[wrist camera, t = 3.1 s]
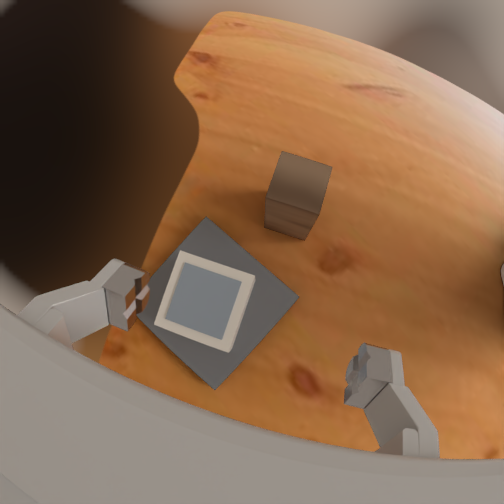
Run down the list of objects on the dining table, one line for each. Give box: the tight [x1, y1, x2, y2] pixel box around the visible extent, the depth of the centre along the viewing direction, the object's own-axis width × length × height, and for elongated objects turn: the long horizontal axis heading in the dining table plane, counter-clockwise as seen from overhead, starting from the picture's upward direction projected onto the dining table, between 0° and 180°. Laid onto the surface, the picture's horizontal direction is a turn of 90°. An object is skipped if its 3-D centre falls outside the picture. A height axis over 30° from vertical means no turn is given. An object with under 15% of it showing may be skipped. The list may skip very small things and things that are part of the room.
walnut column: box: [264, 151, 332, 240], centre depth 34 cm, size 5×5×10 cm
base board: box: [136, 217, 299, 390], centre depth 34 cm, size 14×14×6 cm
